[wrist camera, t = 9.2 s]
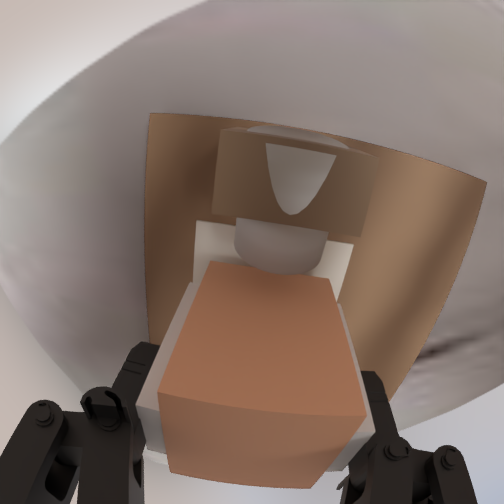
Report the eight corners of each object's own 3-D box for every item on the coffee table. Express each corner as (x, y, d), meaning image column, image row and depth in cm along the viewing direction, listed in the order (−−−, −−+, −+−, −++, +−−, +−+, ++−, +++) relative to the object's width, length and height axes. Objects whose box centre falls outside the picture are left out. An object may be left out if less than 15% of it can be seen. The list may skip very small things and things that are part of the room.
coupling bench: (471, 175, 13) (546, 211, 7) (380, 392, 19) (398, 458, 14) (161, 113, 13) (93, 114, 7) (160, 366, 19) (133, 436, 14)
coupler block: (210, 260, 13) (156, 391, 6) (329, 278, 13) (367, 415, 6) (203, 349, 15) (170, 472, 8) (302, 363, 15) (310, 488, 8)
